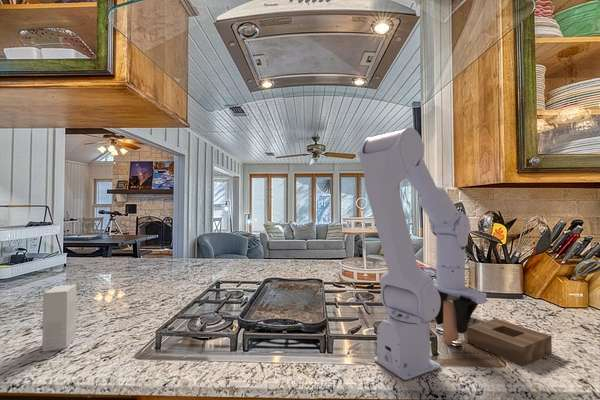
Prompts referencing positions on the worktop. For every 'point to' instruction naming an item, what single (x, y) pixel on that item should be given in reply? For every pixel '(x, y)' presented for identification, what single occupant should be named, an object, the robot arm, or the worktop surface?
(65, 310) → the skincare box
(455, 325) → the peg
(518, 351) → the walnut stand
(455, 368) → the worktop surface
